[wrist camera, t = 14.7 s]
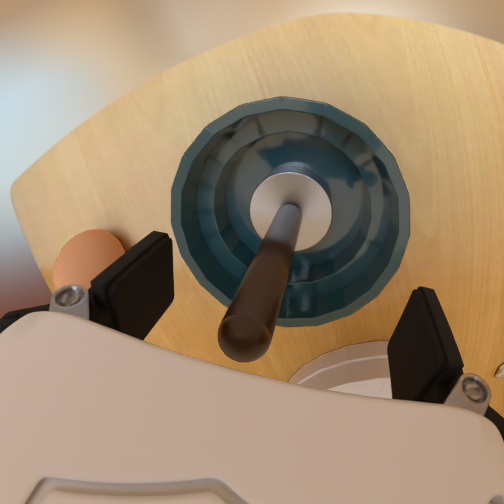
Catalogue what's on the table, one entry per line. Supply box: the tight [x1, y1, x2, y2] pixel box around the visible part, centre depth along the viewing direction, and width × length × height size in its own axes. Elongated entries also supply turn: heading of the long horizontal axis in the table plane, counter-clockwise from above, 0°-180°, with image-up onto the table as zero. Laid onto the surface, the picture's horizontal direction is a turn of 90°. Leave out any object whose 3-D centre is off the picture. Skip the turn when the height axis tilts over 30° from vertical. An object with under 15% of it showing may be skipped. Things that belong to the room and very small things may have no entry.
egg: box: [53, 230, 125, 290], centre depth 26 cm, size 7×7×9 cm
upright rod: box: [218, 166, 333, 362], centre depth 16 cm, size 6×6×16 cm
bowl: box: [171, 96, 410, 327], centre depth 21 cm, size 16×16×6 cm
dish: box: [289, 341, 392, 399], centre depth 30 cm, size 22×22×5 cm
